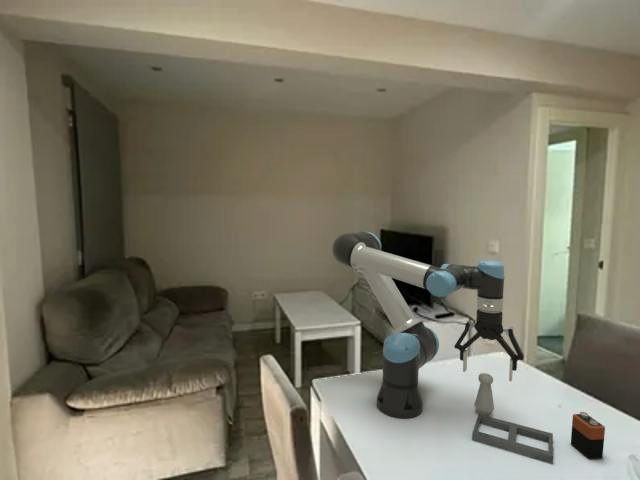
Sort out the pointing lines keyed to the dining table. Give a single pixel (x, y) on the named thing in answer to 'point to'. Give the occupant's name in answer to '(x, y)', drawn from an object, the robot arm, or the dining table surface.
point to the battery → (587, 435)
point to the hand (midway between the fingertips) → (487, 374)
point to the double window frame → (514, 438)
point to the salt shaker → (484, 395)
